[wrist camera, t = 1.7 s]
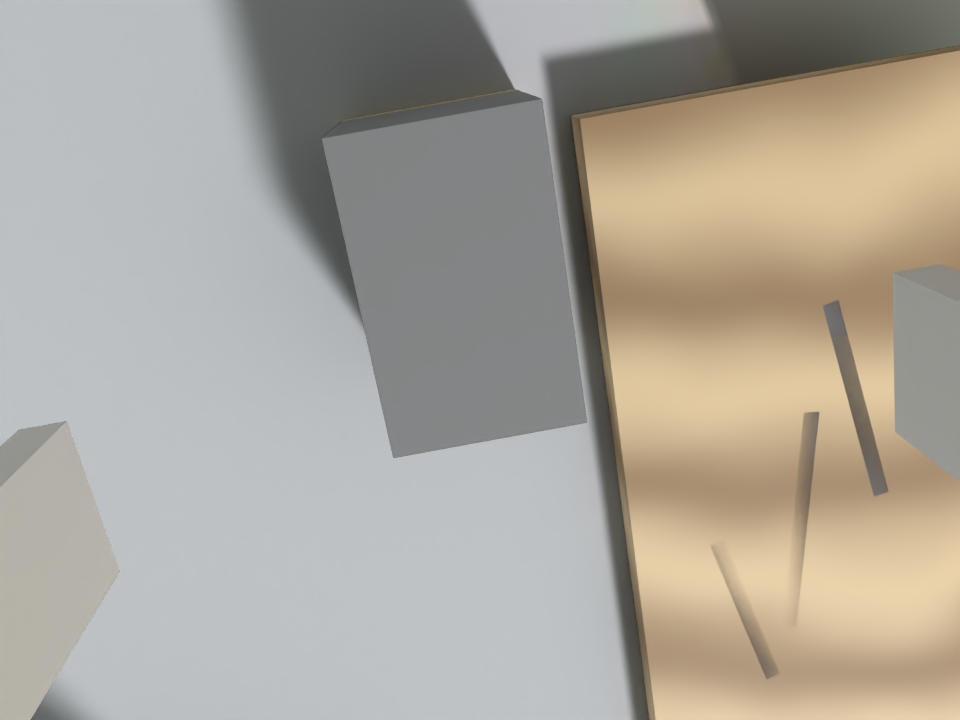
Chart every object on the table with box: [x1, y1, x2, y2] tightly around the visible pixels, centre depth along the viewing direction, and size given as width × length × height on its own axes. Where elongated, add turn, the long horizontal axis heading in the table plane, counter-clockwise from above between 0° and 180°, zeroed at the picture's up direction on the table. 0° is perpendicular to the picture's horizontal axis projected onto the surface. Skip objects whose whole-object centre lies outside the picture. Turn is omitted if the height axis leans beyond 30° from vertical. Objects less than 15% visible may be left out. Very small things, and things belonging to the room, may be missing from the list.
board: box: [571, 45, 960, 720], centre depth 29 cm, size 24×12×2 cm, turn 9°
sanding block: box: [322, 89, 587, 458], centre depth 24 cm, size 8×5×6 cm, turn 9°
